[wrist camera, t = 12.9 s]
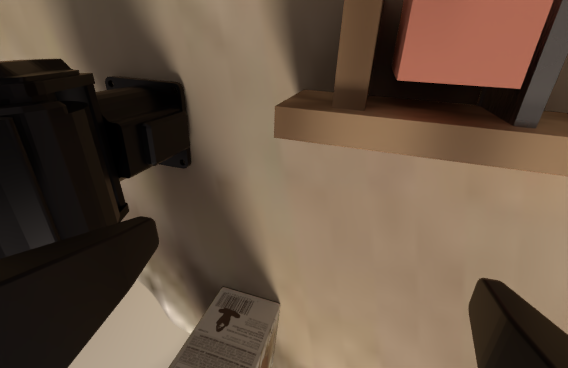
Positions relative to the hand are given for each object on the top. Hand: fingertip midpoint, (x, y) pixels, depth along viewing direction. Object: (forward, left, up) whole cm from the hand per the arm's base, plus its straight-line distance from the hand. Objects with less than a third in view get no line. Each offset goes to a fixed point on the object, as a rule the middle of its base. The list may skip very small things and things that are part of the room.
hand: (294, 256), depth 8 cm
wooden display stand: (+5, +4, -13) cm, 14 cm away
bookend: (+9, +5, -13) cm, 16 cm away
